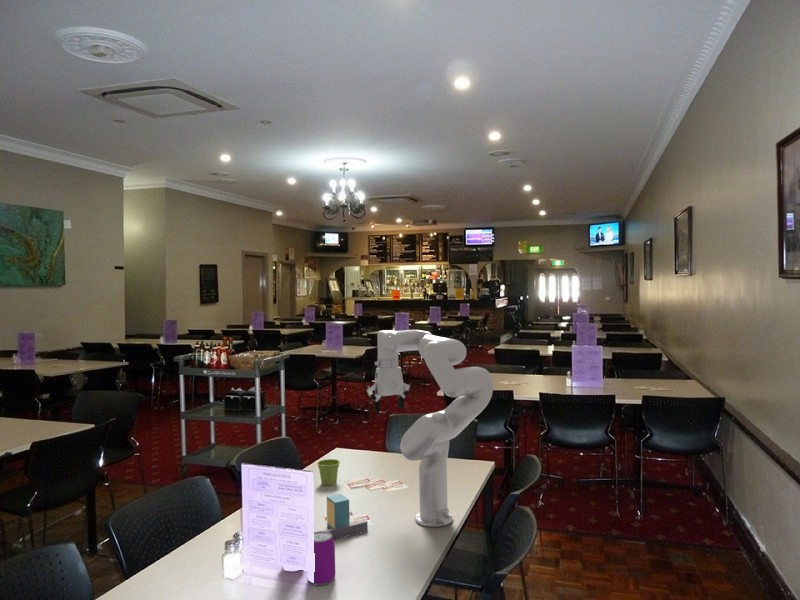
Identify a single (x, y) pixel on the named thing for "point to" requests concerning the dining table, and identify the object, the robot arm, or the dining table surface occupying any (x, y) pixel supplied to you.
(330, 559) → the beverage can
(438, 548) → the dining table surface
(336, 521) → the tea box
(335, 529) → the rail
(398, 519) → the dining table surface
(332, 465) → the plant pot
